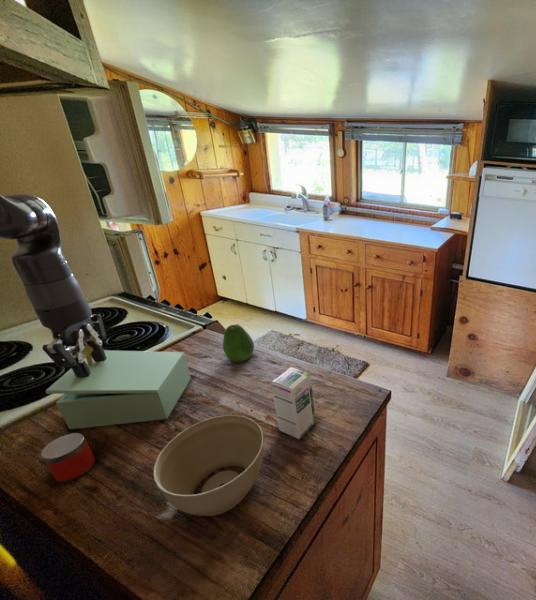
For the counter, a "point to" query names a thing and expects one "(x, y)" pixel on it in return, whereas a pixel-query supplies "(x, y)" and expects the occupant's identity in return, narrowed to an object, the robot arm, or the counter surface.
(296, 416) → the syrup box
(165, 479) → the planter bowl
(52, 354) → the robot arm
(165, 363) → the lid
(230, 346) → the avocado
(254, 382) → the counter surface
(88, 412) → the chest
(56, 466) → the can
